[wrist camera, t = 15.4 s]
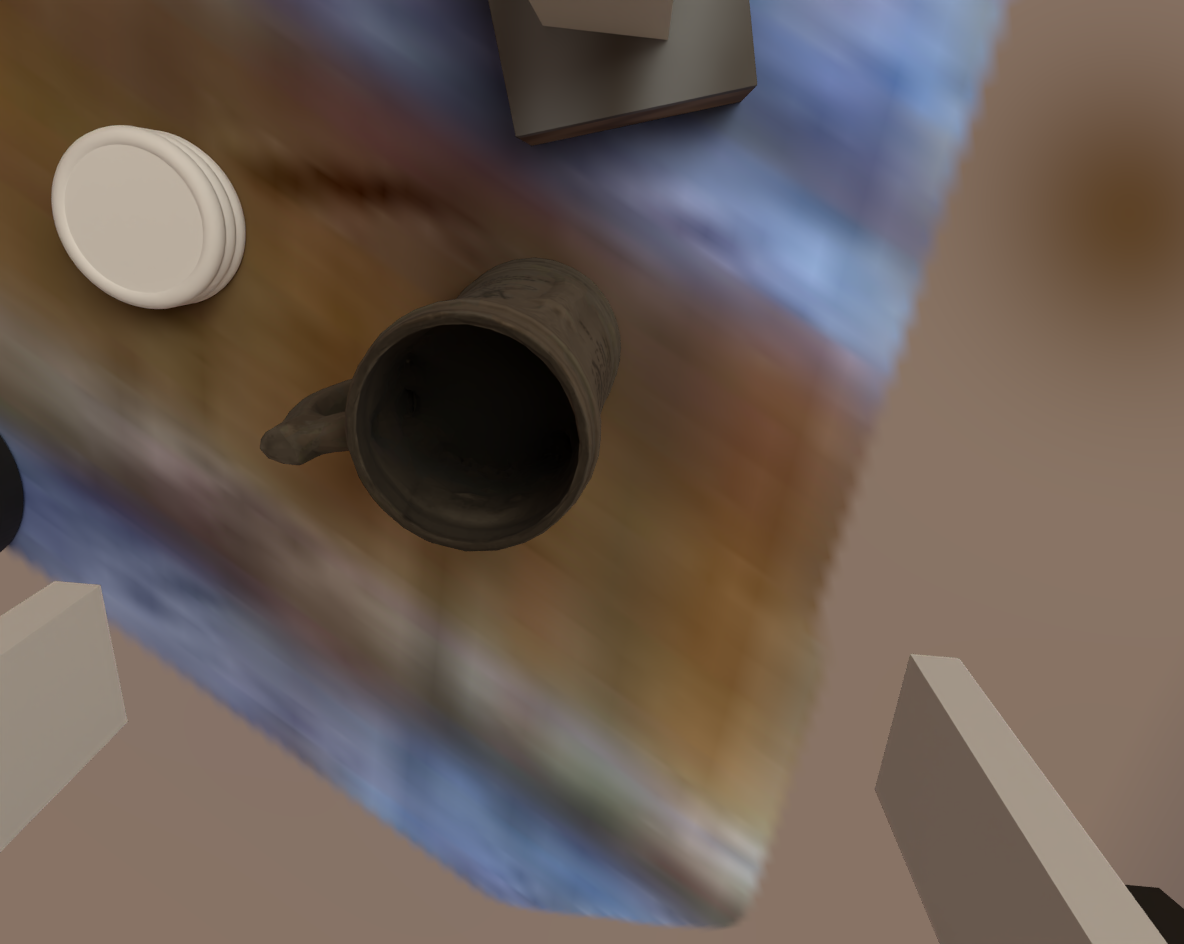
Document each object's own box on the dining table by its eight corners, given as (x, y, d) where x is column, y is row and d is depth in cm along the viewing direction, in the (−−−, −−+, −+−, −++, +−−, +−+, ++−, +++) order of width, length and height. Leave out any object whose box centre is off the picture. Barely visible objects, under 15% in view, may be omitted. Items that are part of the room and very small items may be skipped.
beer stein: (605, 230, 42) (539, 258, 24) (652, 399, 46) (627, 539, 27) (376, 302, 46) (163, 376, 27) (436, 455, 49) (283, 613, 31)
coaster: (129, 93, 42) (85, 83, 38) (277, 202, 43) (248, 202, 40) (65, 237, 45) (20, 239, 41) (206, 334, 46) (173, 344, 43)
